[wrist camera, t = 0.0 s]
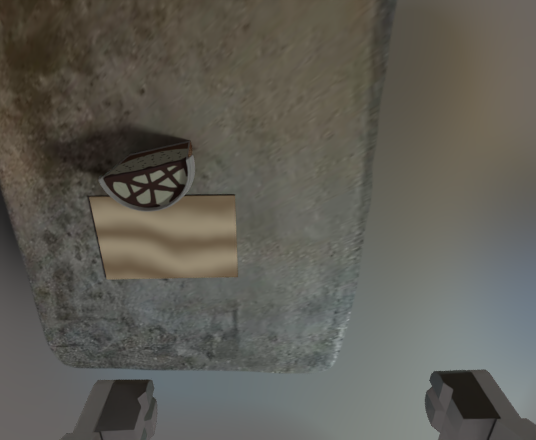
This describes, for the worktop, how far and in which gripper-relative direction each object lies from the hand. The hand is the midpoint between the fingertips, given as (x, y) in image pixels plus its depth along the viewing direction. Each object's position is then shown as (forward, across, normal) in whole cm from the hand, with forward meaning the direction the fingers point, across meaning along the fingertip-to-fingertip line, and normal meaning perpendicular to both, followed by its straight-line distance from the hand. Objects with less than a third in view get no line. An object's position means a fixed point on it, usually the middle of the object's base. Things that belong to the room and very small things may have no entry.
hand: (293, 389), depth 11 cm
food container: (+48, +14, +9) cm, 51 cm away
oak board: (+48, +15, +21) cm, 55 cm away
